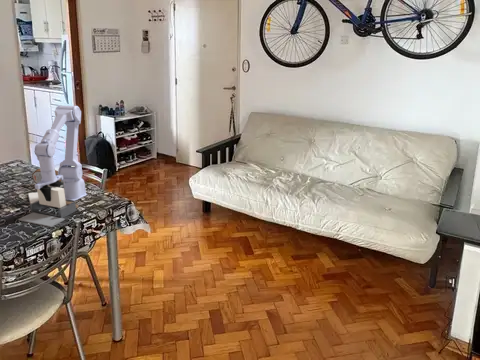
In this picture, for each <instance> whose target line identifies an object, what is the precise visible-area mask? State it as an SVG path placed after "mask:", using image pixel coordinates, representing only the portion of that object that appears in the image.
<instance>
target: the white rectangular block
mask: <svg viewBox="0 0 480 360" xmlns="http://www.w3.org/2000/svg"><path fill="white" fill-rule="evenodd" d="M48 187H51V201H46V199H45V197H44V195H43V193H42V192H41V191H40V189H36V192H38V198H39V204H43V205H48V206H47V207H49V206H53V207H52V208H54V207H58V208H57V209H60V208H61V207H63V206H65V205H66V201H67V200H65V191H64V187H61V186H60V187H54V186H50V185H48Z"/></svg>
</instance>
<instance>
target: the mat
mask: <svg viewBox="0 0 480 360" xmlns="http://www.w3.org/2000/svg"><path fill="white" fill-rule="evenodd" d="M65 220H66V218H58V217H53V216H49V215H44V214H39V213H34V212H33V213H31V212H30V213H29V214H26V215H24V216H22V217H20V218H18V220H17V221H21V222H25V223H30V224H33V225H39V226H44V227H48V228H52V227H55V226H56V225H57V224H60V223H62V222H63V221H65Z"/></svg>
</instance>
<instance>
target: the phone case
mask: <svg viewBox="0 0 480 360" xmlns="http://www.w3.org/2000/svg"><path fill="white" fill-rule="evenodd" d="M27 198H28V202H29V205H30V204H31V203H33V202H35V201H38V200H39V198H38V191H33V192H28V193H27Z"/></svg>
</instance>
